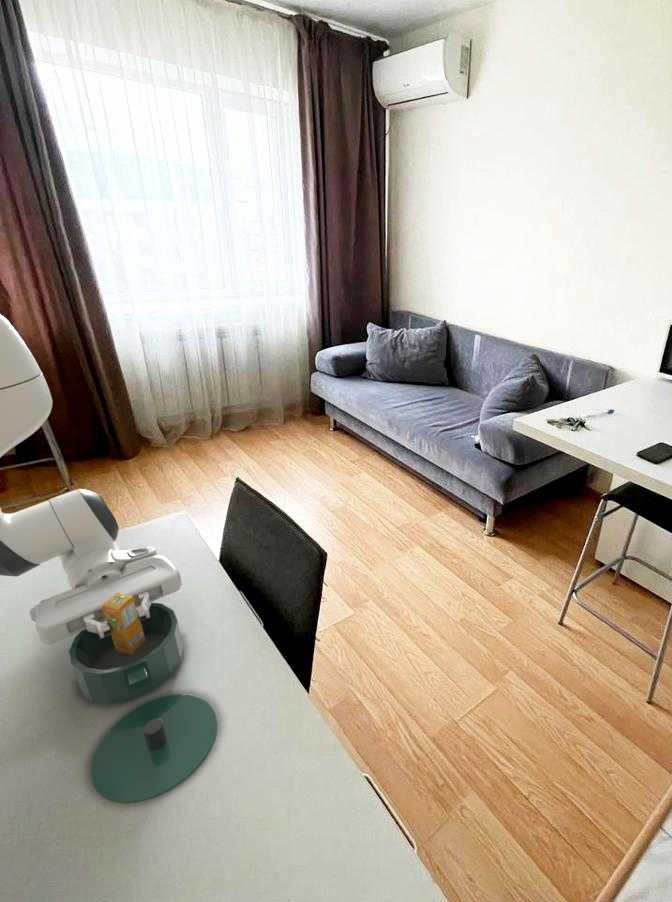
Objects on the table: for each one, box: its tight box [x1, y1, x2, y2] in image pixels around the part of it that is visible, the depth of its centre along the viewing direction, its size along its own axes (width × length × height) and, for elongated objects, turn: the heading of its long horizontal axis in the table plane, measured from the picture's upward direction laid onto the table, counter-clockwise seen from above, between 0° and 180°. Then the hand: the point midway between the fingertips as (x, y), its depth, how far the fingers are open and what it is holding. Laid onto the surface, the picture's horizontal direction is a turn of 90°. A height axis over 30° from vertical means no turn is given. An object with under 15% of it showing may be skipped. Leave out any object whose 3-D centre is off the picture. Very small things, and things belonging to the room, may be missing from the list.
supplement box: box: [102, 592, 147, 656], centre depth 79 cm, size 3×3×10 cm
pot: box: [68, 602, 185, 705], centre depth 81 cm, size 15×20×8 cm
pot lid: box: [90, 693, 218, 803], centre depth 70 cm, size 16×16×5 cm
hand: (125, 624), depth 78 cm, fingers closed on supplement box, 4 cm apart
